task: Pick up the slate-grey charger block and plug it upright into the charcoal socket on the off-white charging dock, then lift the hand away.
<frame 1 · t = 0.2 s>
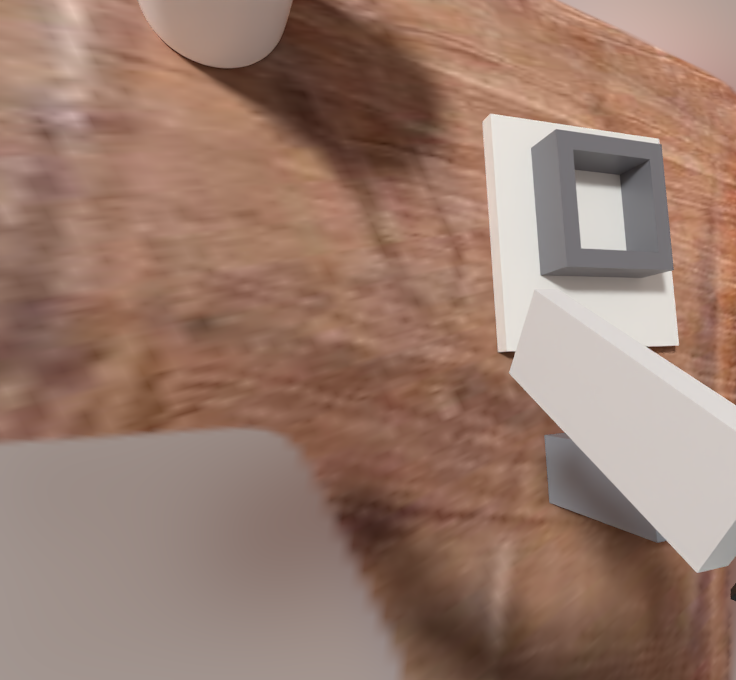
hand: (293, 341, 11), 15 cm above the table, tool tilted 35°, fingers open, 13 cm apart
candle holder: (214, 4, 27), on the table
charger: (573, 465, 32), on the table
charging dock: (579, 239, 33), on the table
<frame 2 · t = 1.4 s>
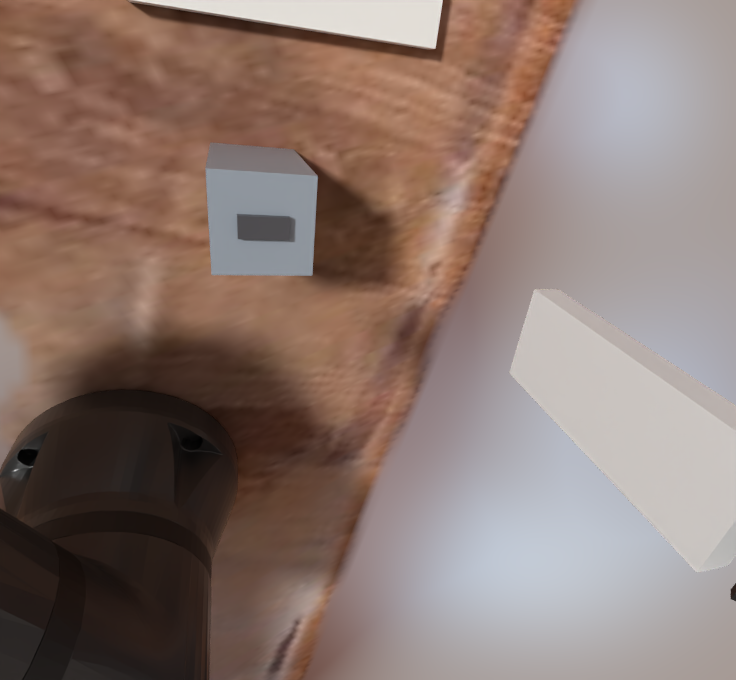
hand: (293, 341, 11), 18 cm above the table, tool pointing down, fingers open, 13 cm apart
charger: (253, 187, 26), on the table
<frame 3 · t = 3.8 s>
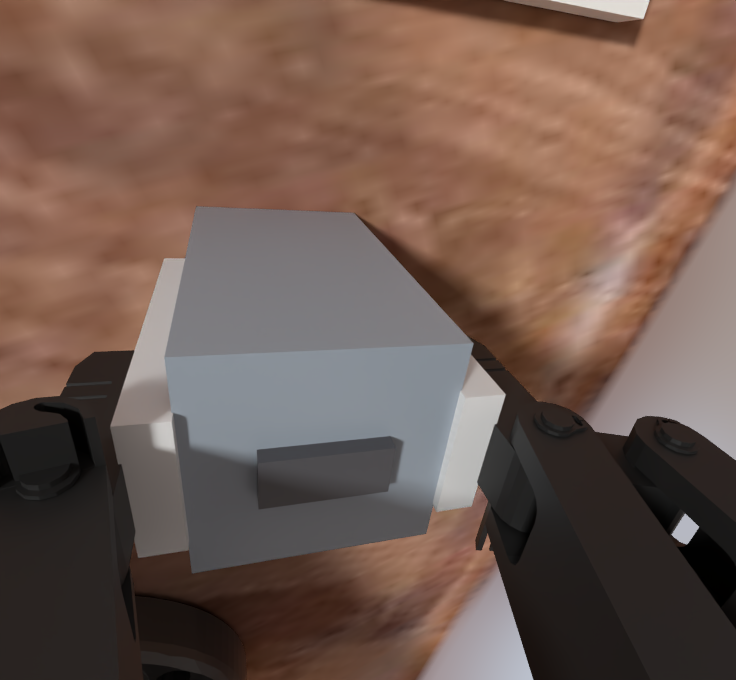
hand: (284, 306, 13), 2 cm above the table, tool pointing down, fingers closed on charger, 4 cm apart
charger: (277, 282, 14), on the table, touching gripper
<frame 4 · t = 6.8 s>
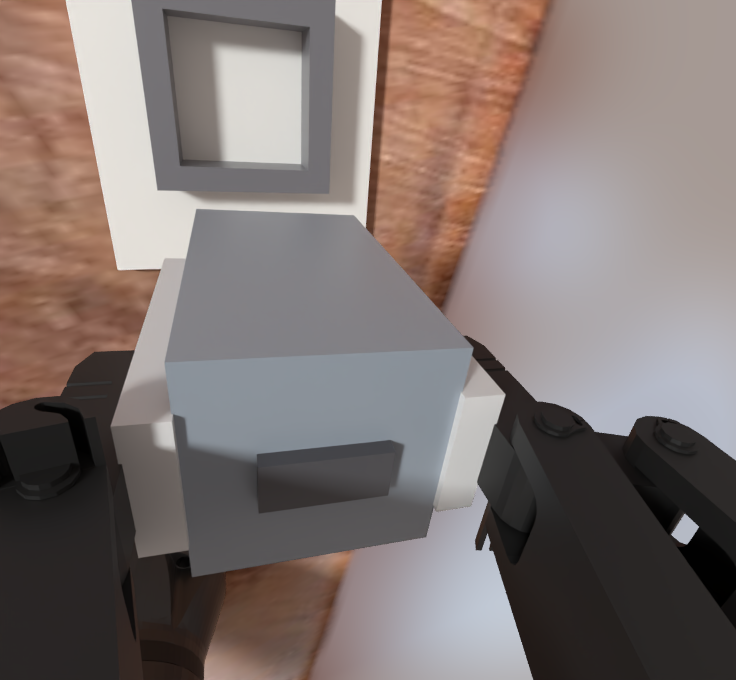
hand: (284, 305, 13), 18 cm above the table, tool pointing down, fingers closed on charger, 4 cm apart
charger: (278, 284, 14), point 16 cm above the table, touching gripper
charging dock: (241, 126, 26), on the table
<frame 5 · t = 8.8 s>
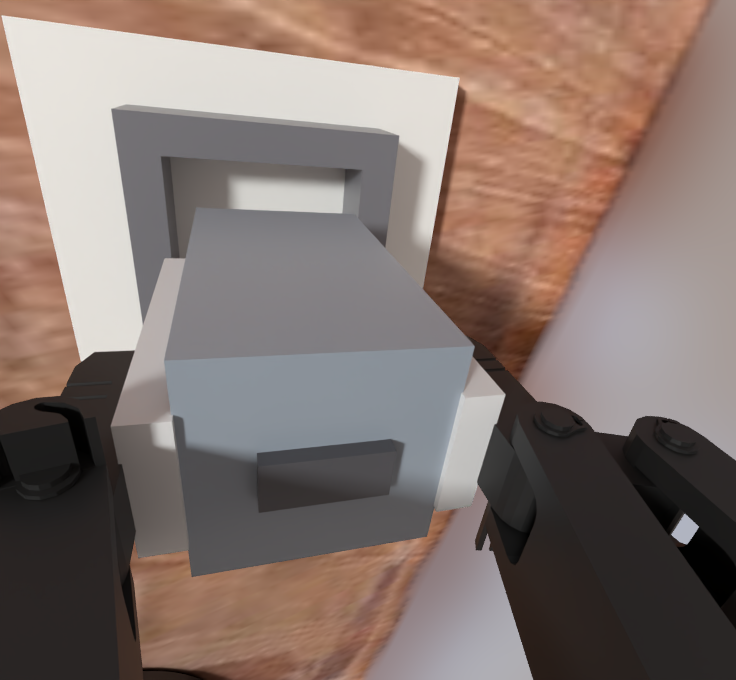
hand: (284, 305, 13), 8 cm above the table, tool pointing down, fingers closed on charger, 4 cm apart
charger: (278, 283, 14), point 6 cm above the table, touching gripper
charging dock: (261, 263, 20), on the table
when the fingers open (5 cm above the table, at t = 10.0 s): charger drops 2 cm, resting on charging dock.
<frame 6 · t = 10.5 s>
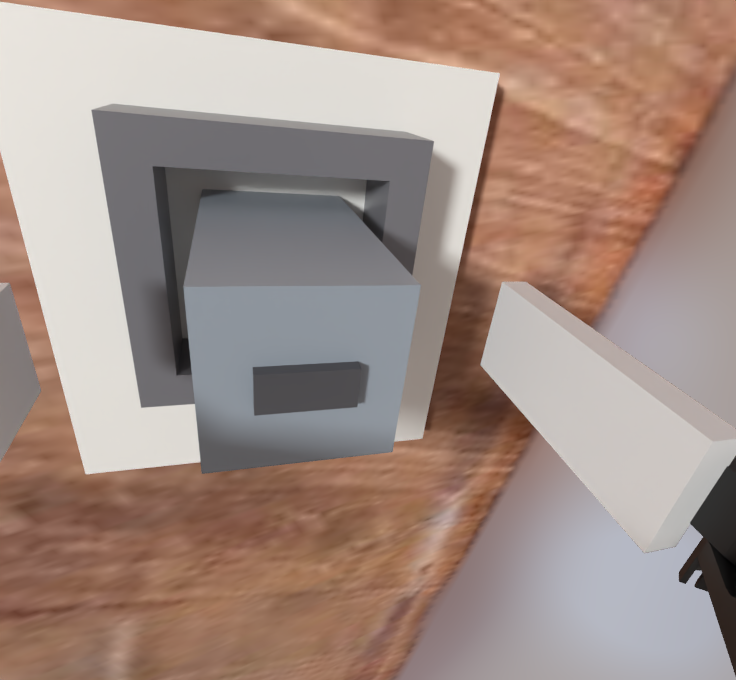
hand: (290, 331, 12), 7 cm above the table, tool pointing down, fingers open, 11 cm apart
charger: (273, 256, 16), point 1 cm above the table, touching charging dock
charging dock: (269, 284, 18), on the table
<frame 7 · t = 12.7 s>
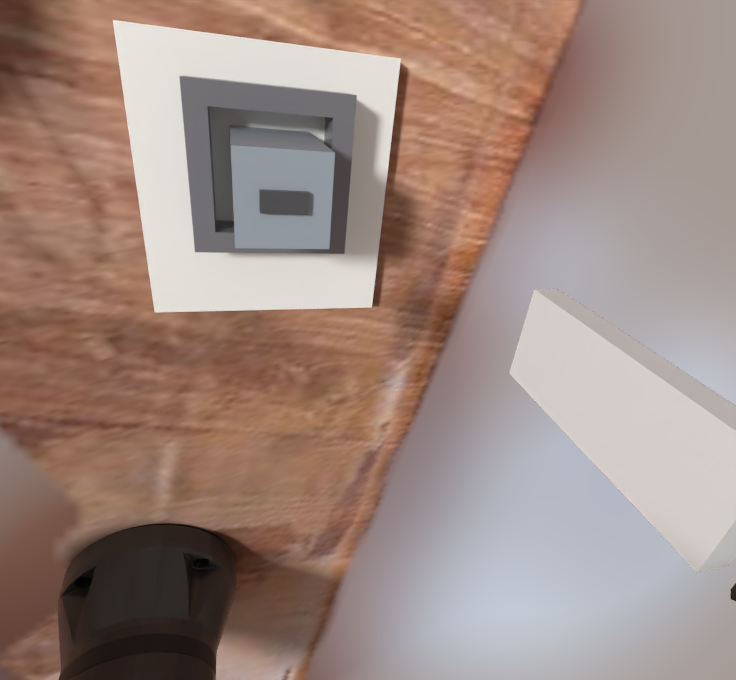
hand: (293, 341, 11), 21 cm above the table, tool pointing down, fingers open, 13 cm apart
charger: (270, 169, 28), point 1 cm above the table, touching charging dock
charging dock: (268, 190, 29), on the table
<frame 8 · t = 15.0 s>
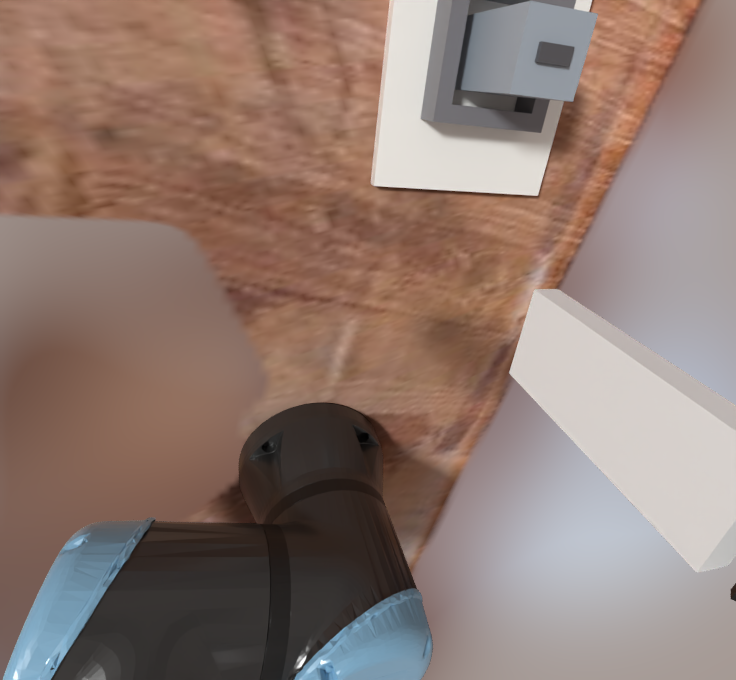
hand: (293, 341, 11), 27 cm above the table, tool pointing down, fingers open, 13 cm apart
charger: (487, 57, 33), point 1 cm above the table, touching charging dock
charging dock: (476, 80, 35), on the table
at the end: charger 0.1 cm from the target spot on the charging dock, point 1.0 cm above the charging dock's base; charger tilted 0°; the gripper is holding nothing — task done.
